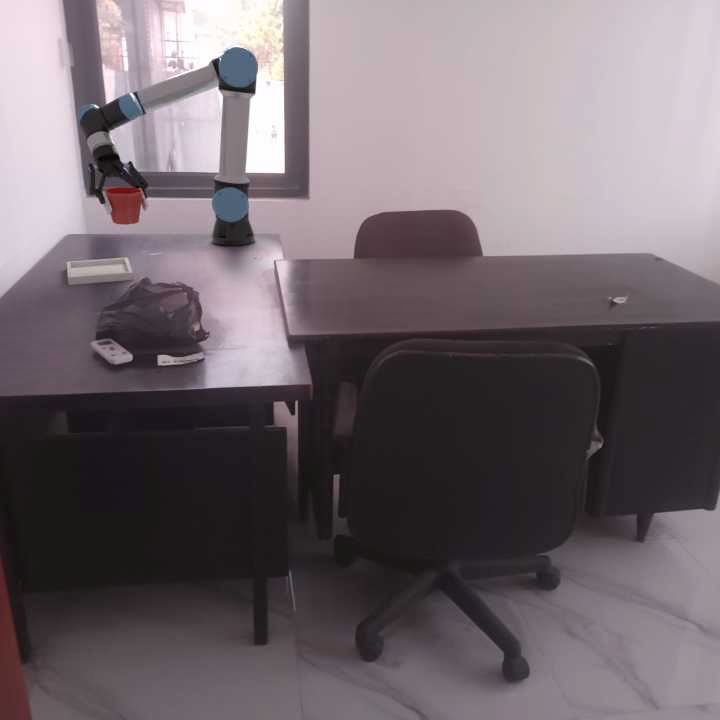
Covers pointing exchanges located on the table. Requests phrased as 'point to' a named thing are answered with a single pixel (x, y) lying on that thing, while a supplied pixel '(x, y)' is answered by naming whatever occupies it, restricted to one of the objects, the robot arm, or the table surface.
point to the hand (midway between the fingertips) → (128, 210)
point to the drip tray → (99, 271)
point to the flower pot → (125, 204)
